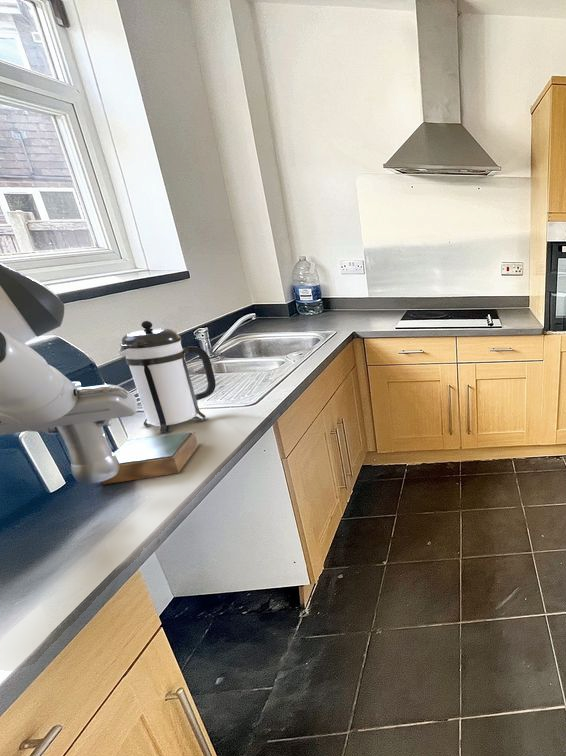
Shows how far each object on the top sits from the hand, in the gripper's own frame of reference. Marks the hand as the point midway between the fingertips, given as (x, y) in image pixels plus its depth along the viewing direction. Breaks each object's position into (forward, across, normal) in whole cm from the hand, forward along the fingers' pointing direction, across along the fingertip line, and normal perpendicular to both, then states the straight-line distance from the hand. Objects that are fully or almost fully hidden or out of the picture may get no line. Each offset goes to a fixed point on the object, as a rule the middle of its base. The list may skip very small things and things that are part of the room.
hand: (81, 426), depth 79 cm
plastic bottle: (+8, 0, +9) cm, 12 cm away
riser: (+22, -4, +2) cm, 23 cm away
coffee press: (+42, -5, -17) cm, 46 cm away
